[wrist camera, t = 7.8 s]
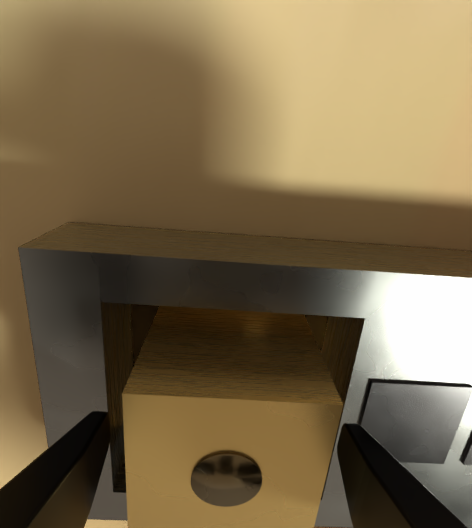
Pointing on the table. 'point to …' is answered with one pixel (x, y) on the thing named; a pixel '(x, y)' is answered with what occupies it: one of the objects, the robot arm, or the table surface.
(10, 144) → the table surface
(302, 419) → the wooden block
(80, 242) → the panel
